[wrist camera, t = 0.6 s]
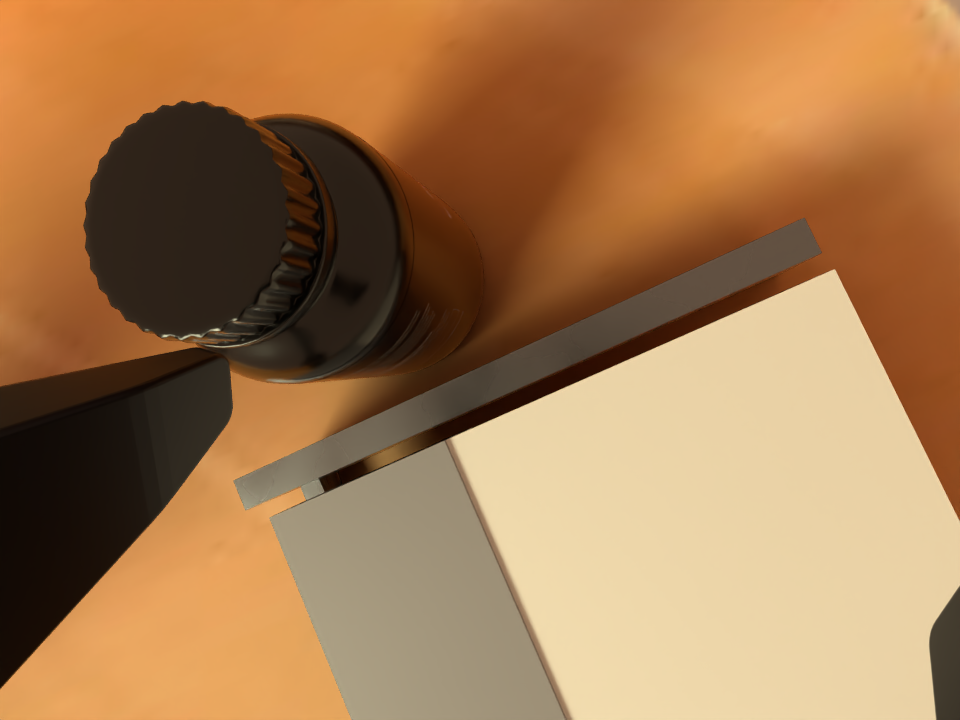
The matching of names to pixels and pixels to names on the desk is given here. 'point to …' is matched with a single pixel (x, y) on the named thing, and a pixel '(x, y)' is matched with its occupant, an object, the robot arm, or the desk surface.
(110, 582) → the desk surface
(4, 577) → the robot arm
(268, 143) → the supplement bottle
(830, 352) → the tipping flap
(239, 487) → the flap frame
